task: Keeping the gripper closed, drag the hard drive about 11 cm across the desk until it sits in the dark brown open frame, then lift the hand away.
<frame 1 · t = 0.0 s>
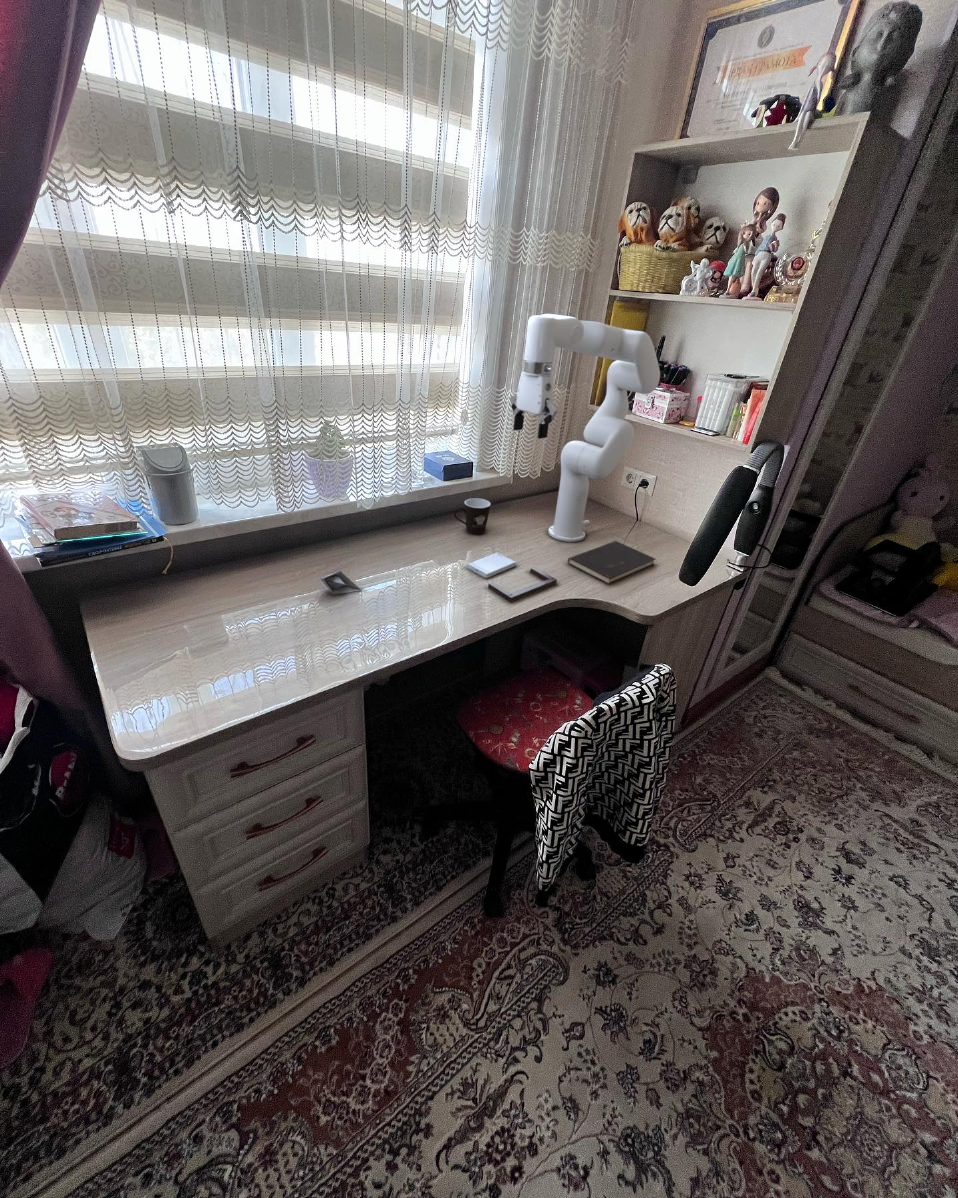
hand: (529, 433, 149), 37 cm above the table, tool pointing down, fingers open, 9 cm apart
coffee mug: (471, 531, 180), on the table
dark brown open frame: (521, 585, 149), on the table
hard drive: (491, 567, 158), on the table
hardcover book: (610, 564, 165), on the table
paper boat: (338, 594, 139), on the table
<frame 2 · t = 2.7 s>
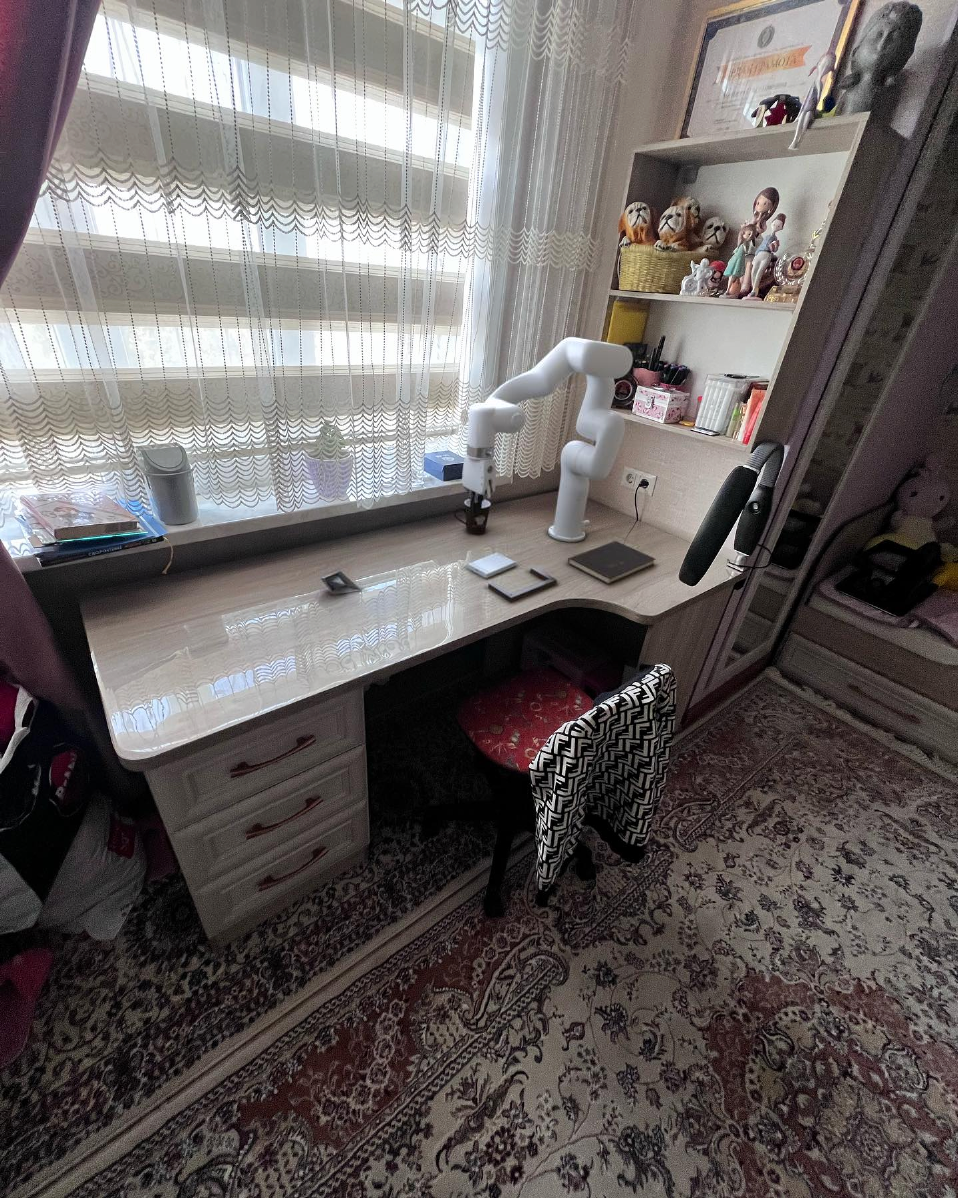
hand: (475, 513, 155), 14 cm above the table, tool pointing down, fingers closed
nothing on the table moved.
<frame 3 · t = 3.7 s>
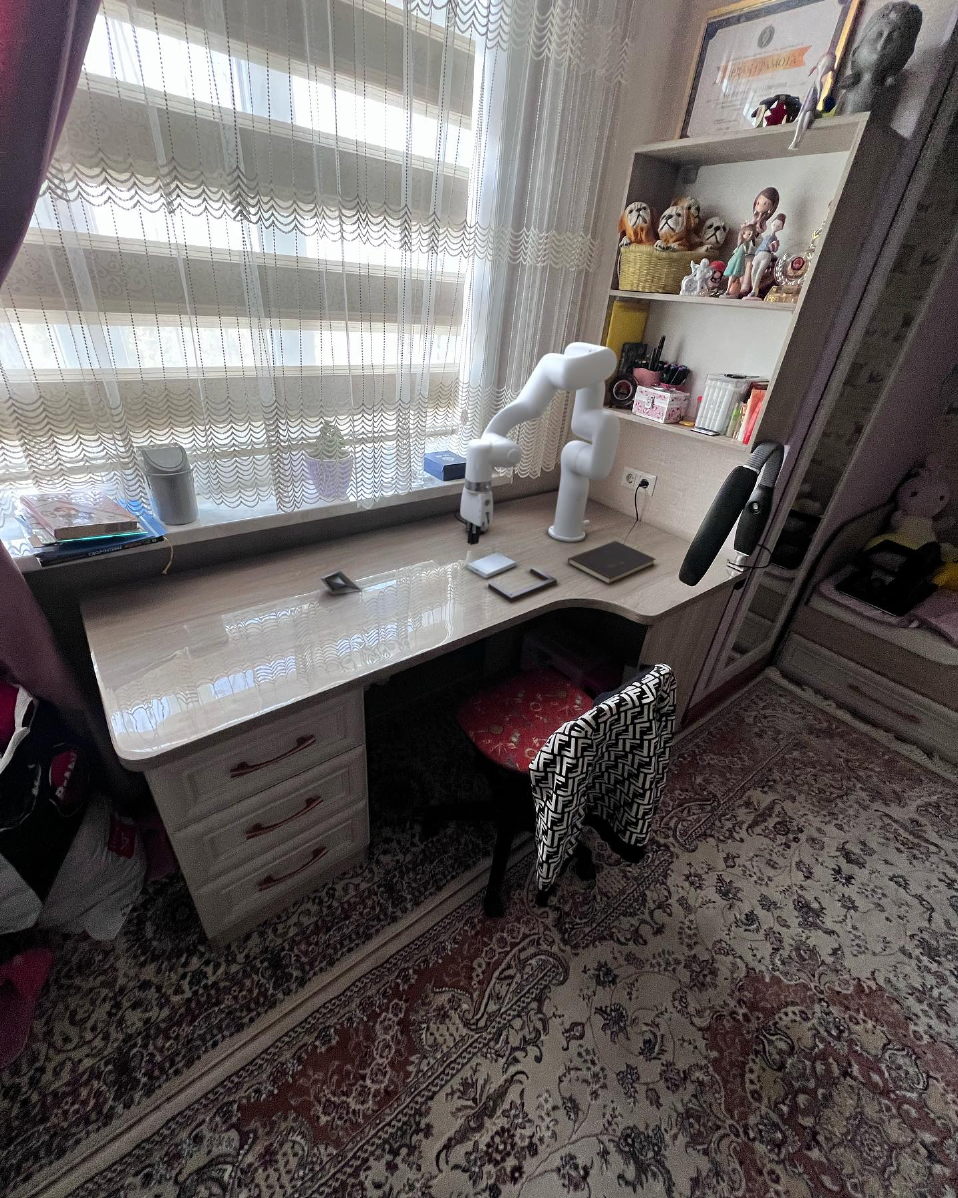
hand: (473, 543, 160), 5 cm above the table, tool pointing down, fingers closed
nothing on the table moved.
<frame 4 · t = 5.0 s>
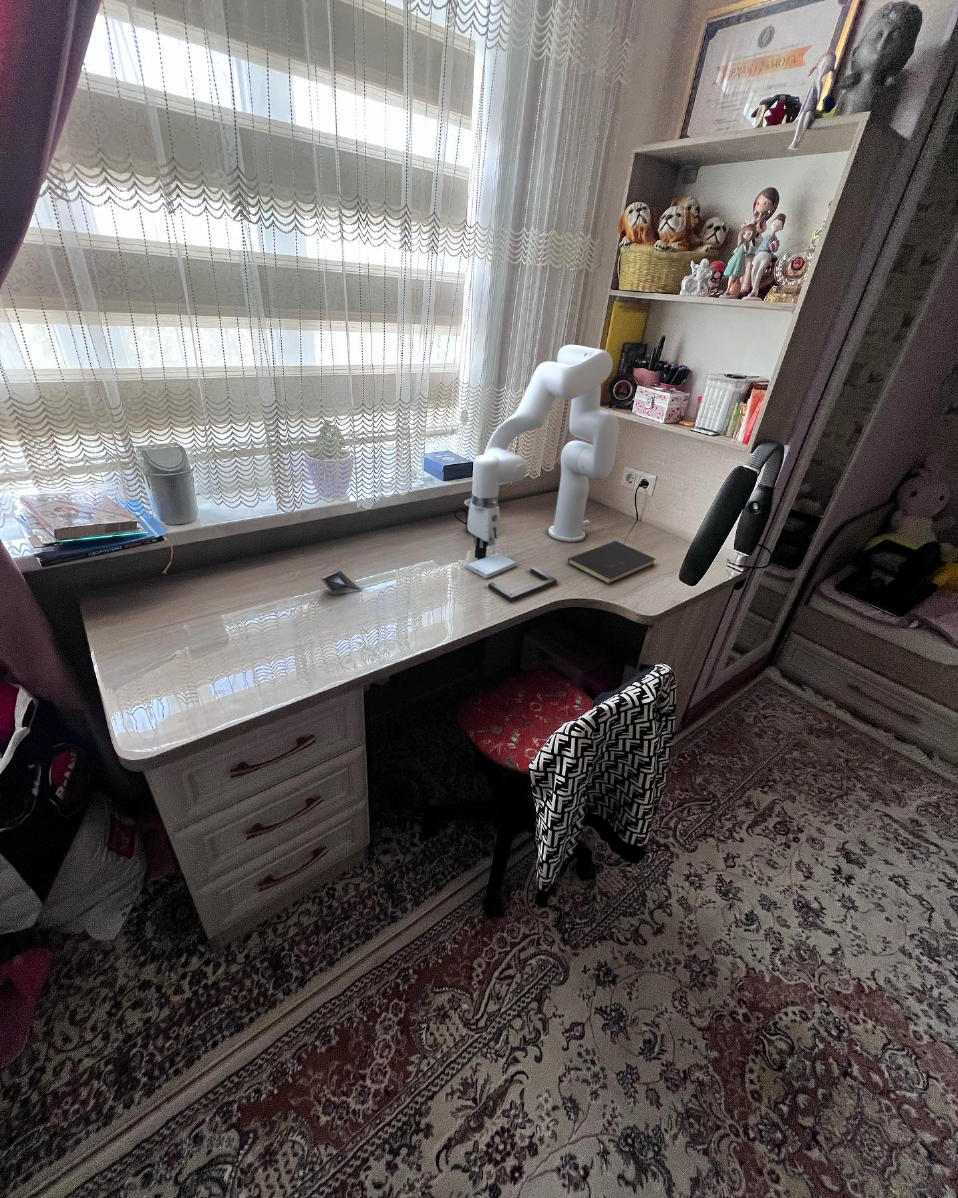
hand: (480, 557, 160), 1 cm above the table, tool pointing down, fingers closed
hard drive: (491, 568, 157), on the table, touching gripper
everything else where it was.
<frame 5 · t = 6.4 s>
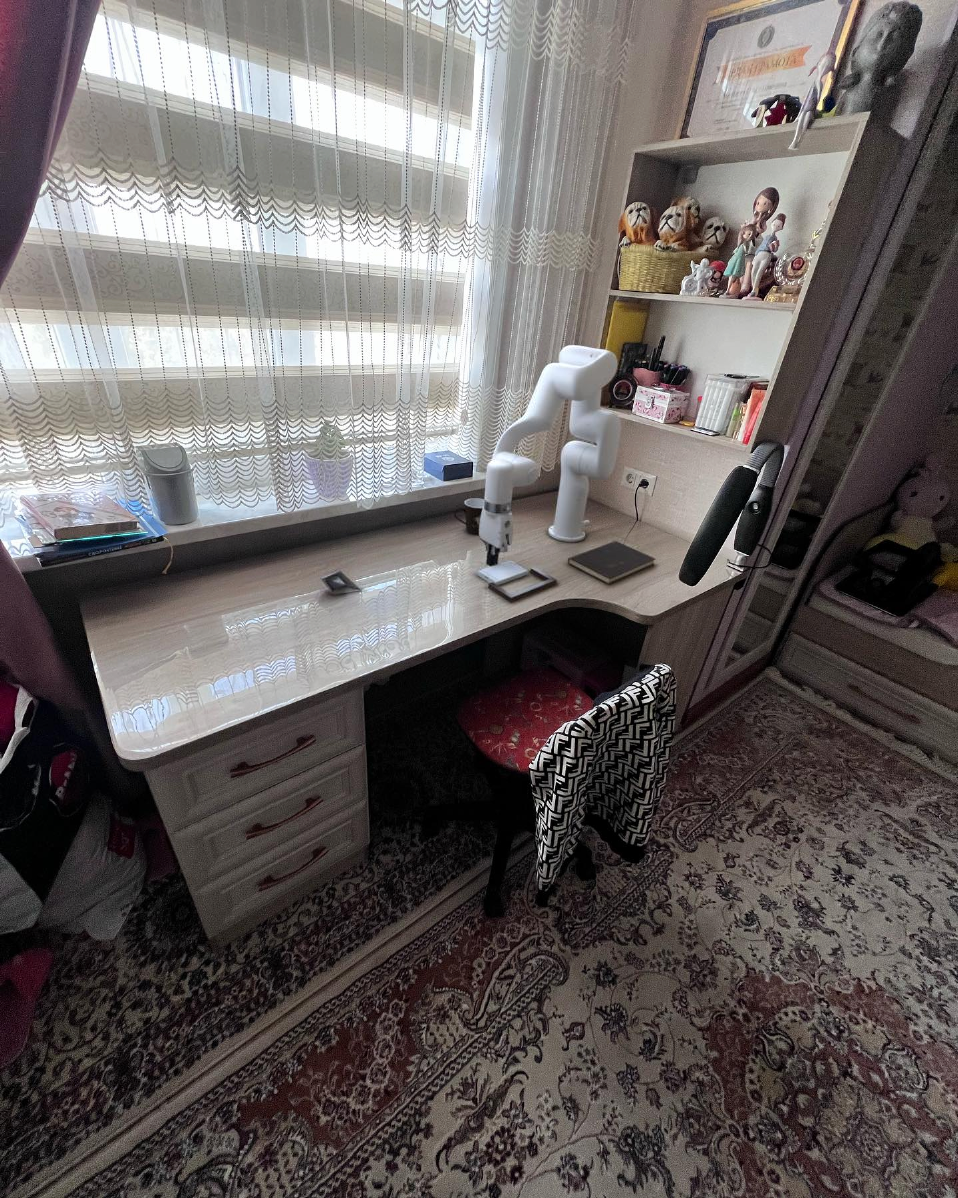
hand: (491, 564, 157), 1 cm above the table, tool pointing down, fingers closed
hard drive: (502, 575, 154), on the table, touching gripper
everything else where it was.
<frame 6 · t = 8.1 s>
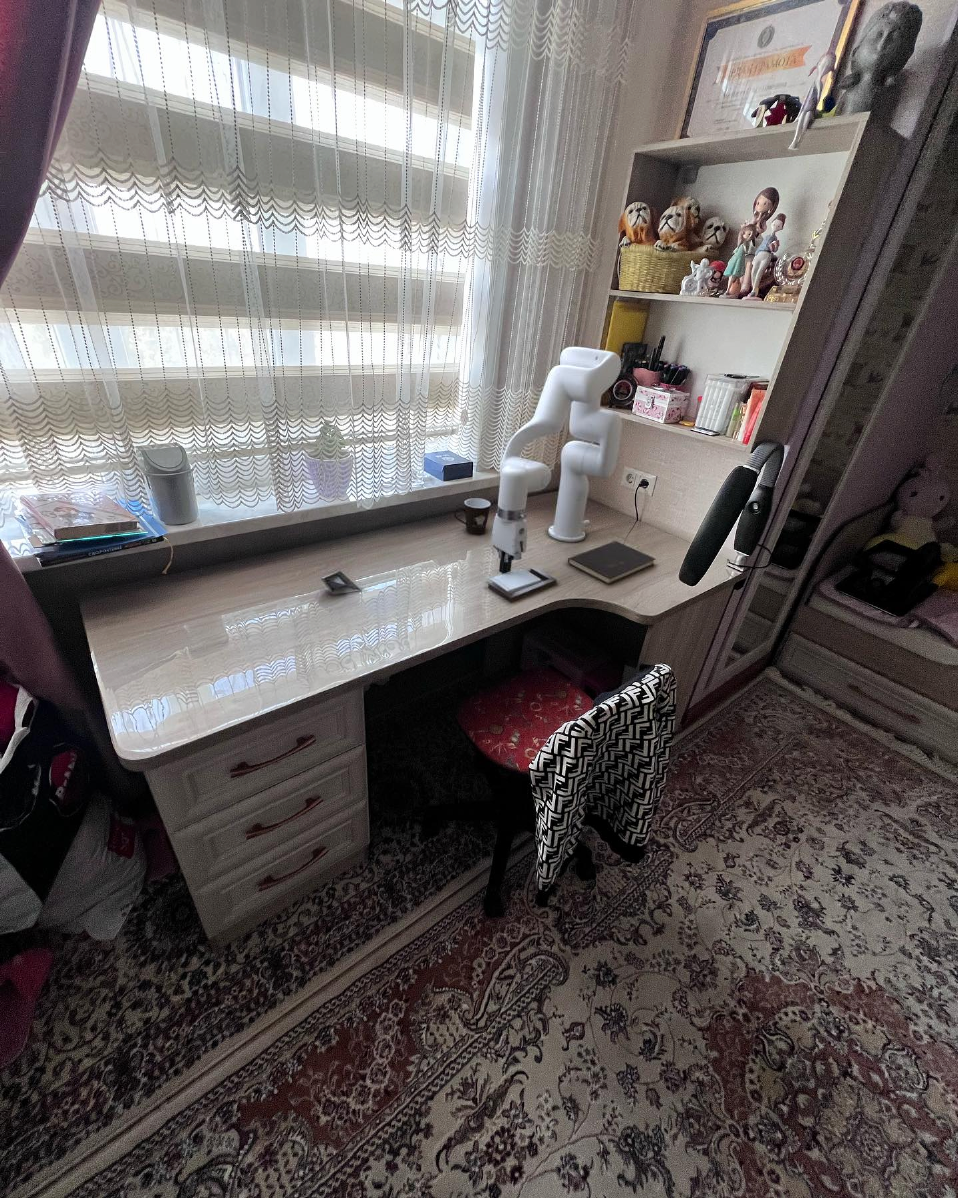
hand: (504, 571, 153), 1 cm above the table, tool pointing down, fingers closed
hard drive: (514, 584, 150), on the table, touching gripper
everything else where it was.
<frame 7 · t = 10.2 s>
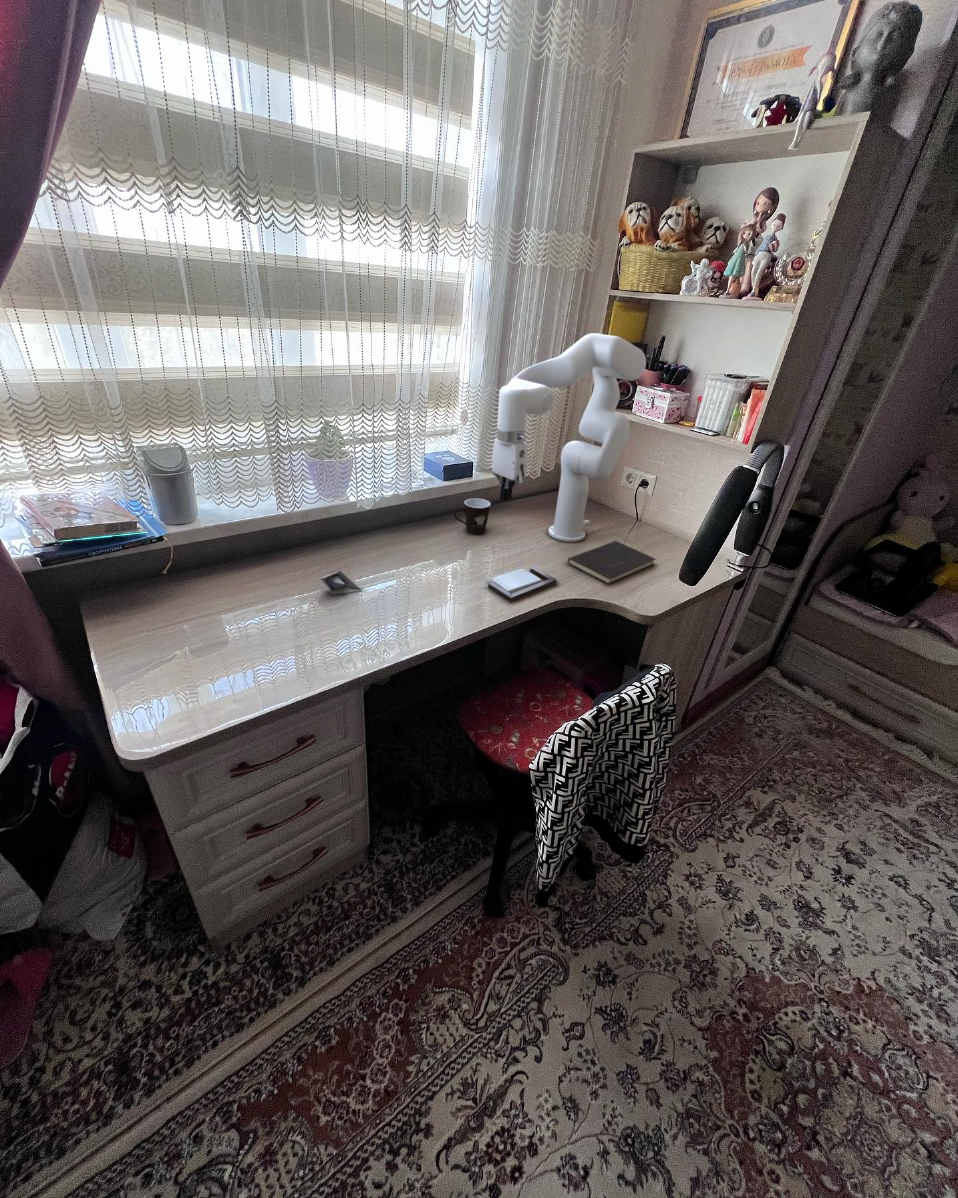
hand: (505, 499, 152), 20 cm above the table, tool pointing down, fingers closed
hard drive: (515, 584, 150), on the table
everything else where it was.
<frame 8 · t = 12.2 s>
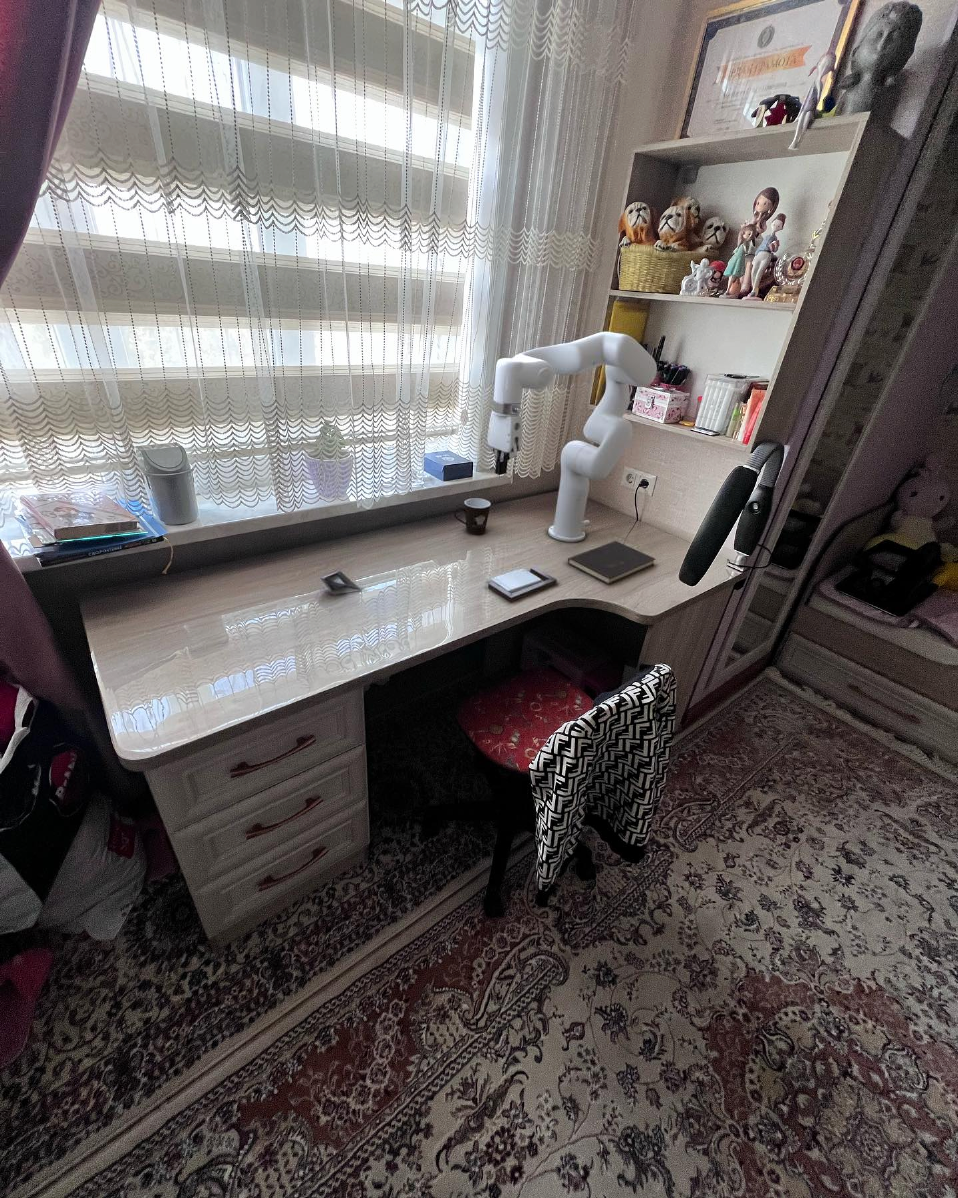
hand: (500, 473, 154), 25 cm above the table, tool pointing down, fingers closed
nothing on the table moved.
at the end: hard drive 0.9 cm from the target spot, on the table; hard drive moved 11.2 cm from its start; hard drive tilted 0° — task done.
